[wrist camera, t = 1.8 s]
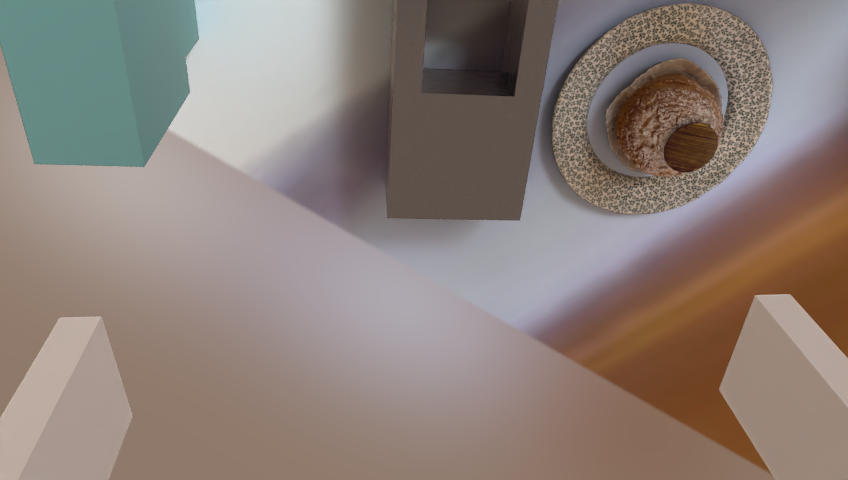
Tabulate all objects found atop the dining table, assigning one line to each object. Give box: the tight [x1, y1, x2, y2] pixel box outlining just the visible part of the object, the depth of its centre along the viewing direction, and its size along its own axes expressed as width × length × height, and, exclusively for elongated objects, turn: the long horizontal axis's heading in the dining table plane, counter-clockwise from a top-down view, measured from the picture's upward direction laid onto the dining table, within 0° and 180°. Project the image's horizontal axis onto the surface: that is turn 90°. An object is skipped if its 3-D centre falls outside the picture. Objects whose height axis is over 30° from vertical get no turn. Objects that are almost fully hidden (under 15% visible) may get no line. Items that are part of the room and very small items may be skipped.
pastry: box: [551, 3, 773, 214], centre depth 34 cm, size 12×12×5 cm
